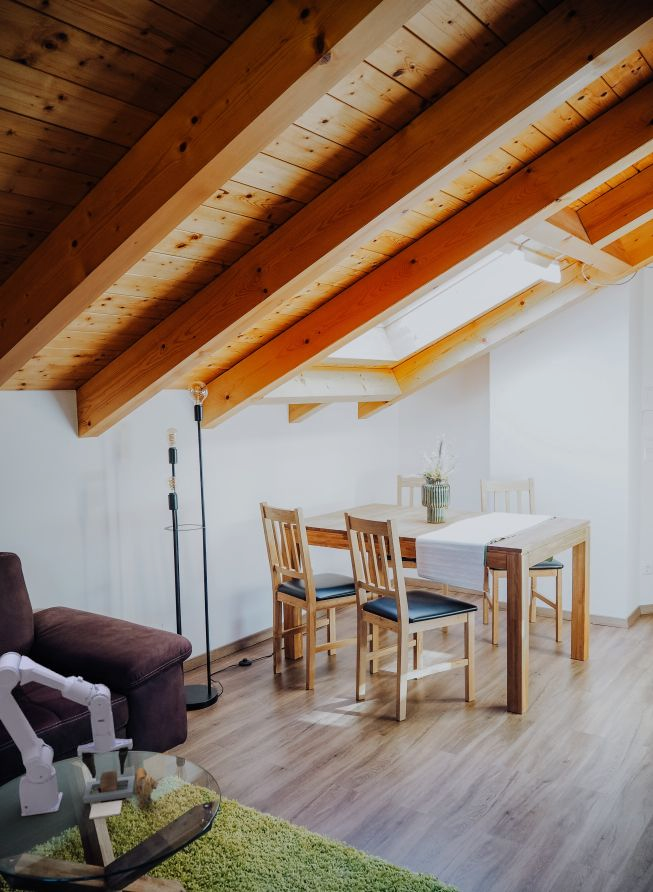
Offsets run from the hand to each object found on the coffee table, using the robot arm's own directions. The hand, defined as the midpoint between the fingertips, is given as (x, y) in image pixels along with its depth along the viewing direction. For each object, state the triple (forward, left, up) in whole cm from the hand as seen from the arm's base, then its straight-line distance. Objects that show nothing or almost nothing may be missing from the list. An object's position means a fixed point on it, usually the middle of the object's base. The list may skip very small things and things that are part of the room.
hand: (108, 774), depth 213 cm
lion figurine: (+10, -5, -6) cm, 13 cm away
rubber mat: (0, -8, -5) cm, 10 cm away
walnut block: (0, 0, -5) cm, 5 cm away
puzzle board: (0, 0, -5) cm, 5 cm away
